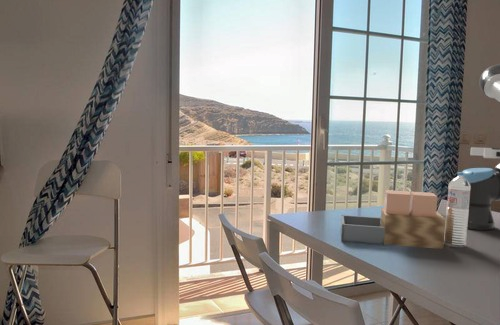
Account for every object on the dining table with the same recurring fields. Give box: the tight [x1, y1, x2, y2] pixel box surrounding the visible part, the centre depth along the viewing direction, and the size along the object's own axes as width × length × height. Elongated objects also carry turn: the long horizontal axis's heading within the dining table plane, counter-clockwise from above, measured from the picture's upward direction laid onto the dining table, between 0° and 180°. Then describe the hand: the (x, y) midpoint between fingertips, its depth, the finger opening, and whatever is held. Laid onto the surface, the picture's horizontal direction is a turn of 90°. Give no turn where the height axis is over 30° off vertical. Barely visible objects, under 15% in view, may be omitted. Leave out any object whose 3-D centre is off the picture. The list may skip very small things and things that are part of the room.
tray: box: [340, 214, 385, 246], centre depth 151 cm, size 14×15×6 cm
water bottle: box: [444, 171, 471, 249], centre depth 144 cm, size 7×7×25 cm
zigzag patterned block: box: [380, 207, 446, 250], centre depth 147 cm, size 19×12×10 cm, turn 79°
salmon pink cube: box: [409, 190, 438, 217], centre depth 146 cm, size 8×7×7 cm
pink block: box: [383, 189, 411, 215], centre depth 147 cm, size 8×7×7 cm
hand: (477, 152), depth 140 cm, fingers open, 13 cm apart
